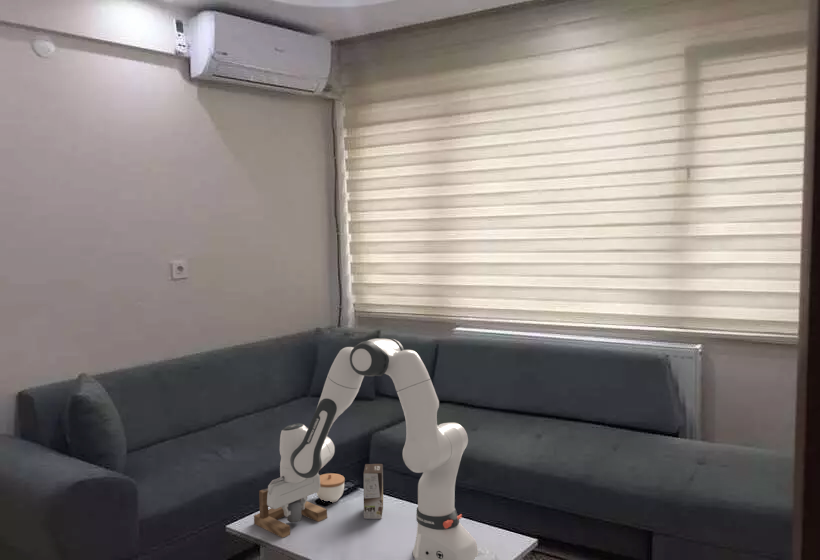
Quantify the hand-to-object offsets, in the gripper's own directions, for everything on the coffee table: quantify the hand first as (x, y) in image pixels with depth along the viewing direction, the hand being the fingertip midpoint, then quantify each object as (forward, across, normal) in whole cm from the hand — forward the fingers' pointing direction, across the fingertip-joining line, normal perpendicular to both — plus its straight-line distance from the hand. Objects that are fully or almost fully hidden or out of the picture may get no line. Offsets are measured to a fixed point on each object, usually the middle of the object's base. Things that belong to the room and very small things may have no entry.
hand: (294, 512), depth 229 cm
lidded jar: (+4, +21, +6) cm, 22 cm away
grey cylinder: (+2, 0, 0) cm, 2 cm away
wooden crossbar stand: (+4, 0, +2) cm, 5 cm away
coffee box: (+4, +23, -14) cm, 27 cm away
